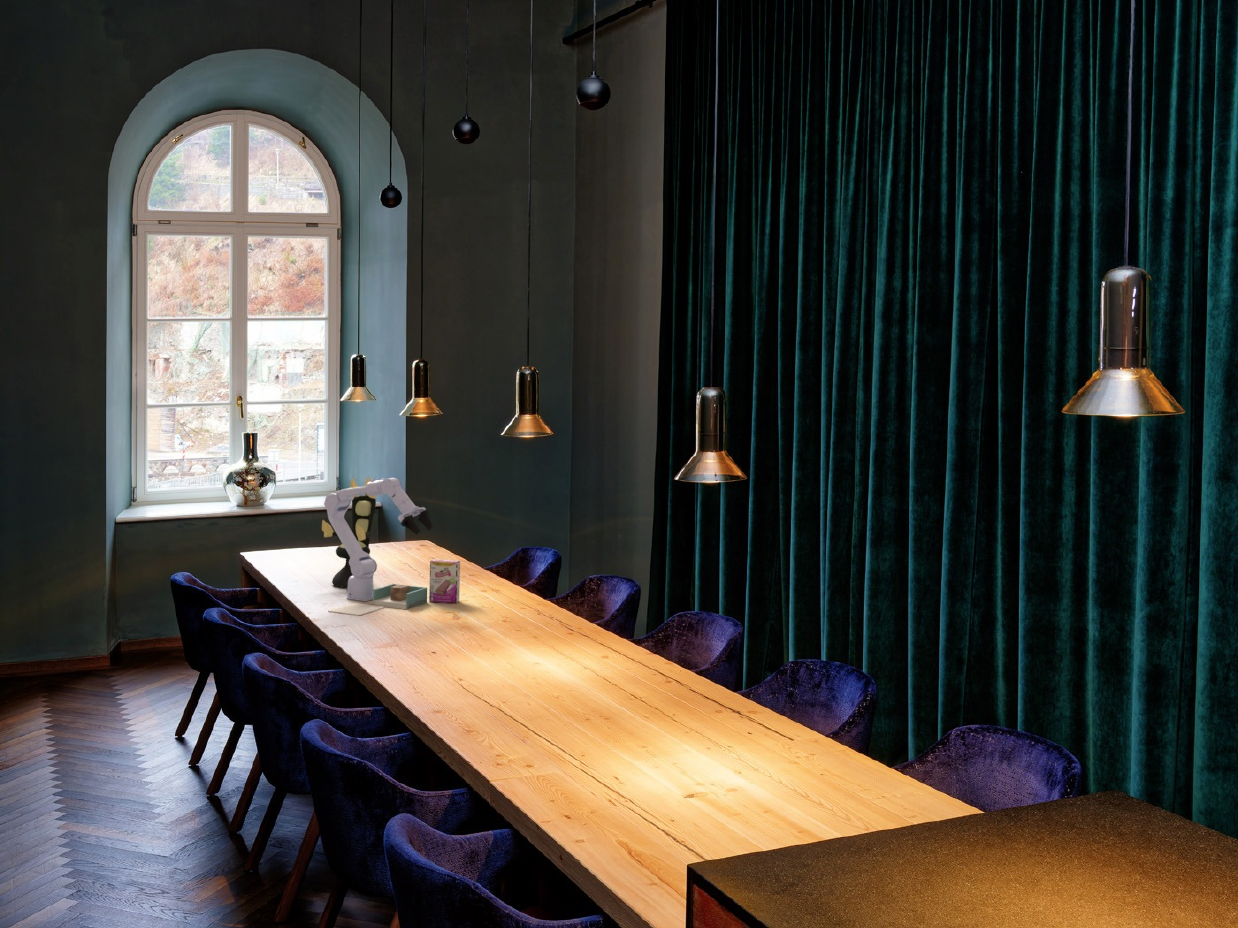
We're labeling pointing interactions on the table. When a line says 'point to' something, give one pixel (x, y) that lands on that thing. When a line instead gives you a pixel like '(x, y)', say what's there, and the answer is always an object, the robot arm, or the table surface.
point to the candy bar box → (444, 581)
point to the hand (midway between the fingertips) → (424, 530)
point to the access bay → (412, 600)
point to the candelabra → (354, 532)
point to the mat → (356, 609)
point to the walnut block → (399, 592)
